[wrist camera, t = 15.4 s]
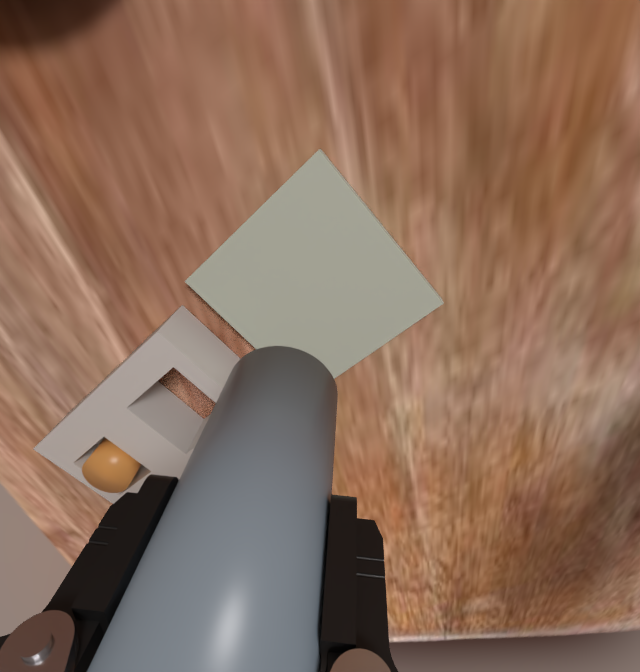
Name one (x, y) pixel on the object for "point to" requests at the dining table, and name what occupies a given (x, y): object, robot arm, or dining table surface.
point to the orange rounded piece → (110, 468)
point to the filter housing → (145, 405)
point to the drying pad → (315, 273)
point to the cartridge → (240, 534)
